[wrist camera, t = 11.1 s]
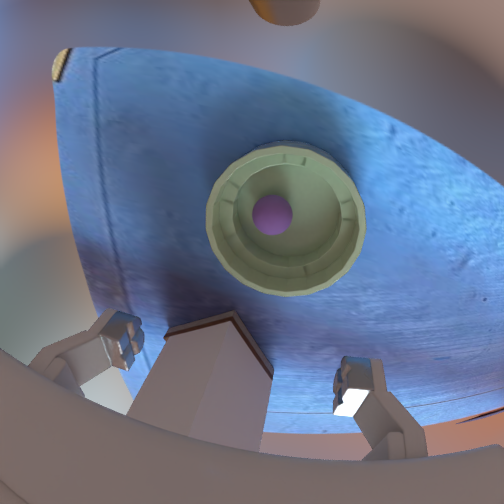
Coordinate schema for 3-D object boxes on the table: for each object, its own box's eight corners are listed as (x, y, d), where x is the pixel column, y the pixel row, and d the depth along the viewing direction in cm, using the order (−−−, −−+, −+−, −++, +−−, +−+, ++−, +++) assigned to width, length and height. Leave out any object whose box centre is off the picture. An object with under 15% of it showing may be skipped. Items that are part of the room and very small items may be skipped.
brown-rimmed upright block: (169, 328, 39) (48, 556, 8) (234, 310, 35) (121, 611, 4) (211, 380, 42) (136, 585, 12) (274, 369, 39) (216, 616, 8)
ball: (276, 188, 28) (245, 191, 26) (303, 199, 25) (272, 204, 23) (272, 223, 29) (242, 229, 27) (297, 237, 27) (267, 245, 25)
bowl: (225, 133, 26) (208, 138, 21) (368, 153, 24) (381, 163, 20) (219, 257, 32) (204, 282, 28) (340, 277, 30) (344, 306, 26)
